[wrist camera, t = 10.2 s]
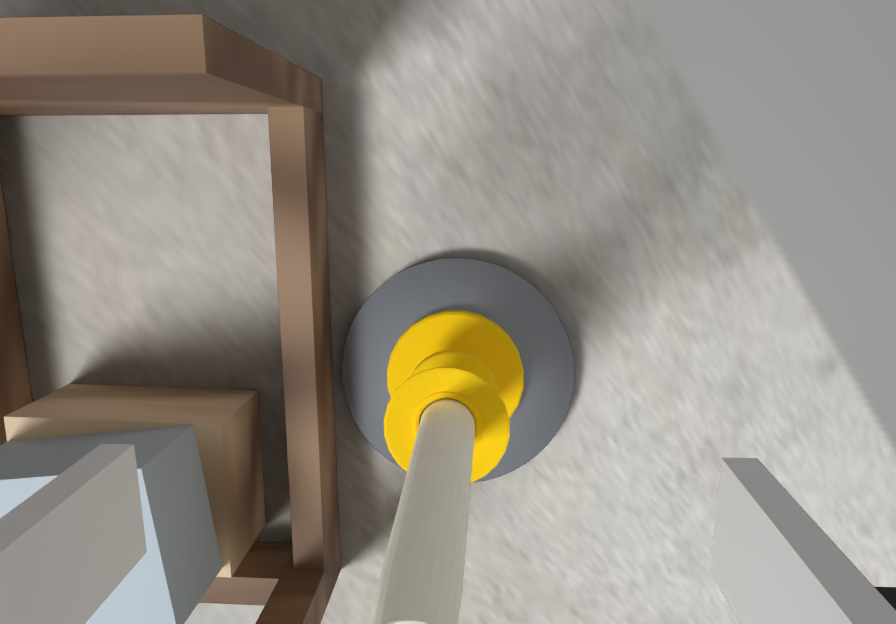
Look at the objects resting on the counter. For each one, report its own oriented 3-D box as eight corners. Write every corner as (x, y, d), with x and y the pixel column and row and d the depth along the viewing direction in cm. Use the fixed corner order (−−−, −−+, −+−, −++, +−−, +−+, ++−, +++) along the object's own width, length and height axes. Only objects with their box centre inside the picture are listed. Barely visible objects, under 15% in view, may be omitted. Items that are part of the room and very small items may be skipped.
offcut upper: (8, 440, 24) (-75, 486, 20) (193, 424, 23) (140, 468, 20) (44, 579, 25) (-28, 644, 21) (222, 567, 24) (177, 632, 21)
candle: (551, 387, 25) (644, 719, 10) (444, 463, 26) (380, 873, 11) (467, 281, 24) (427, 461, 9) (361, 363, 25) (166, 648, 10)
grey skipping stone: (340, 256, 25) (337, 258, 25) (577, 258, 25) (579, 260, 24) (348, 473, 27) (345, 479, 26) (568, 479, 26) (570, 486, 26)
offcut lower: (73, 382, 27) (3, 416, 23) (260, 388, 27) (221, 424, 23) (88, 513, 29) (24, 566, 25) (267, 521, 28) (231, 577, 24)
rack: (-44, 82, 25) (-393, 24, 15) (321, 79, 24) (201, 14, 14) (28, 557, 29) (-208, 754, 19) (340, 569, 28) (259, 783, 18)
